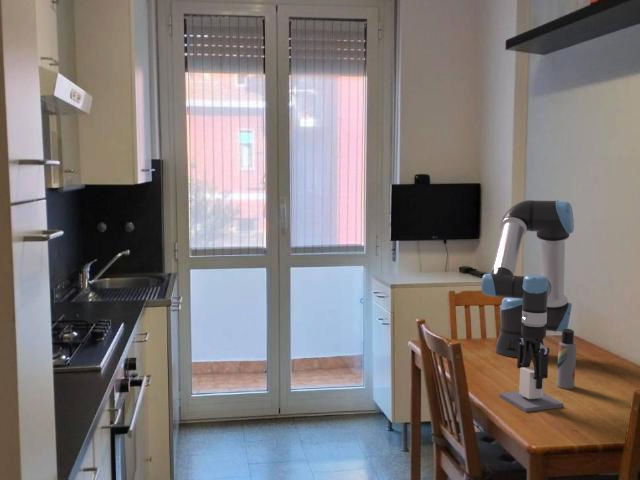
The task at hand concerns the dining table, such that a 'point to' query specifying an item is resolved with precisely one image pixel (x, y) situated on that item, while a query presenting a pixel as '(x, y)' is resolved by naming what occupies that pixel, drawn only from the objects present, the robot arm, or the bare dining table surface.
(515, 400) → the post board
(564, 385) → the lotion bottle
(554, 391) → the dining table surface
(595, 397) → the dining table surface
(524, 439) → the dining table surface
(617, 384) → the dining table surface
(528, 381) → the tall white block
